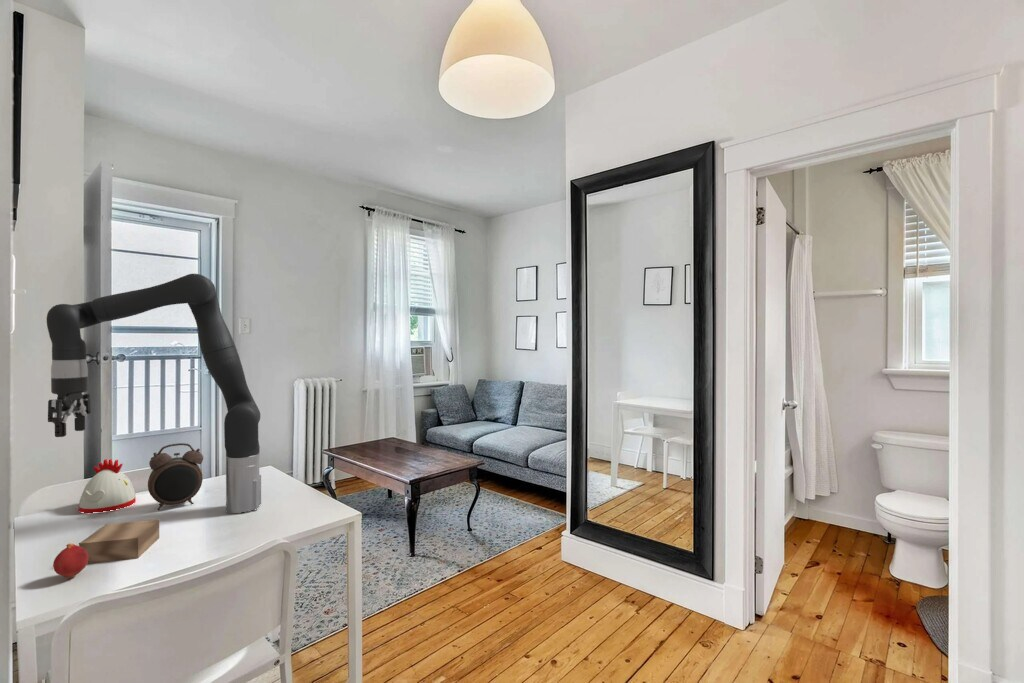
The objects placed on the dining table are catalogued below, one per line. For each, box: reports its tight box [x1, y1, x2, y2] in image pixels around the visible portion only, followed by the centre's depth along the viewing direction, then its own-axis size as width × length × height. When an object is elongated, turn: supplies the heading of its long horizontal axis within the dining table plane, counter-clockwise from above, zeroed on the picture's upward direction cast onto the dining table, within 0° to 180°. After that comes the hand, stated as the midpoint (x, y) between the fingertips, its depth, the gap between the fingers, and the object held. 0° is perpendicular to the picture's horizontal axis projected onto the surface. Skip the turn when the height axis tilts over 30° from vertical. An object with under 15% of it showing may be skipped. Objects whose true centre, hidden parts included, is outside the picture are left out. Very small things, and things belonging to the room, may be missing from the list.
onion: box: [52, 542, 89, 579], centre depth 107 cm, size 6×6×8 cm
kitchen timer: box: [78, 458, 137, 513], centre depth 152 cm, size 14×14×15 cm
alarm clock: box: [147, 442, 204, 511], centre depth 152 cm, size 15×7×20 cm, turn 129°
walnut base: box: [78, 519, 160, 564], centre depth 121 cm, size 12×12×5 cm
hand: (70, 433), depth 133 cm, fingers open, 8 cm apart
